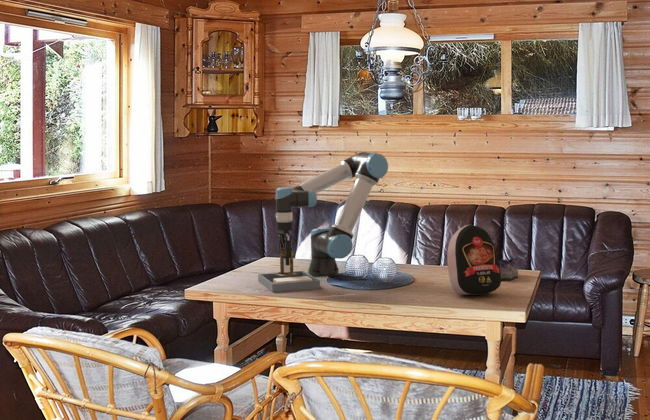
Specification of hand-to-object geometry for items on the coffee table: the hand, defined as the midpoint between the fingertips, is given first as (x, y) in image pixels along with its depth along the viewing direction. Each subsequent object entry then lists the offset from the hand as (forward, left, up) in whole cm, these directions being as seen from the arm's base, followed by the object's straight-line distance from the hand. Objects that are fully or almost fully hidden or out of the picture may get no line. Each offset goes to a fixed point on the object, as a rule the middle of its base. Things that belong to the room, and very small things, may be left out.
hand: (285, 270), depth 406 cm
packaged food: (-70, +51, -7) cm, 87 cm away
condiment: (0, 0, -2) cm, 2 cm away
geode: (-102, +23, -7) cm, 105 cm away
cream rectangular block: (0, +12, -6) cm, 13 cm away
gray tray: (0, +5, -7) cm, 8 cm away
